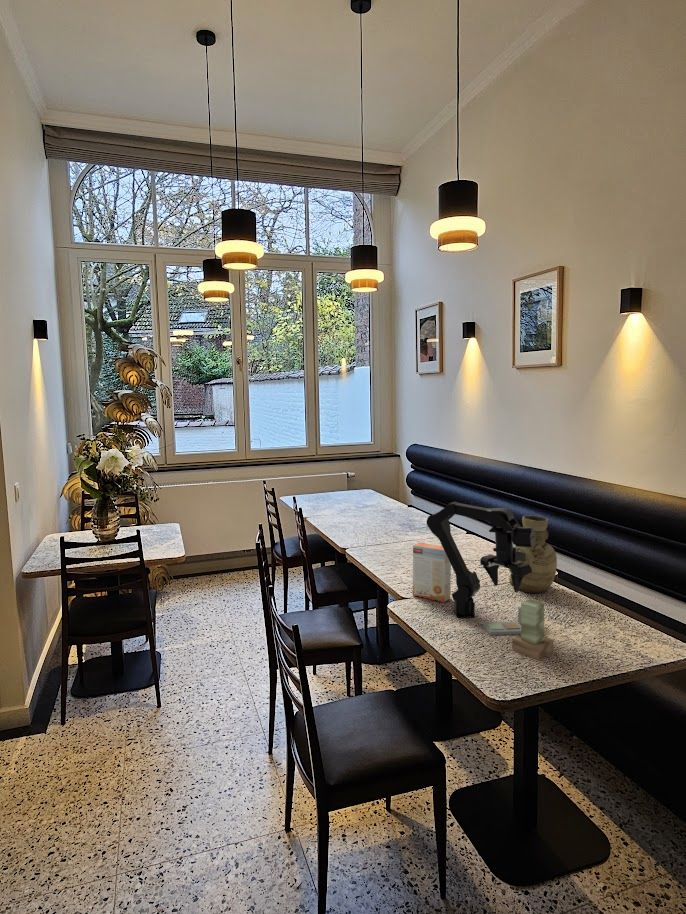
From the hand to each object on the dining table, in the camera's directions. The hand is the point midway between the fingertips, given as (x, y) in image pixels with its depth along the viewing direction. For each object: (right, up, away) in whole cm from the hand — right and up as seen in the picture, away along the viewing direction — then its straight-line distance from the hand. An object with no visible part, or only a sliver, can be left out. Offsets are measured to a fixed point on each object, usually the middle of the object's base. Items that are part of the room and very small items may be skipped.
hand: (506, 588), depth 204 cm
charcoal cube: (+8, -13, 0) cm, 15 cm away
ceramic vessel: (+20, -8, +37) cm, 43 cm away
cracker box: (-22, -10, +27) cm, 36 cm away
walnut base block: (+3, -16, -19) cm, 25 cm away
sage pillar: (+3, -12, -20) cm, 23 cm away
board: (-2, -13, -3) cm, 14 cm away
